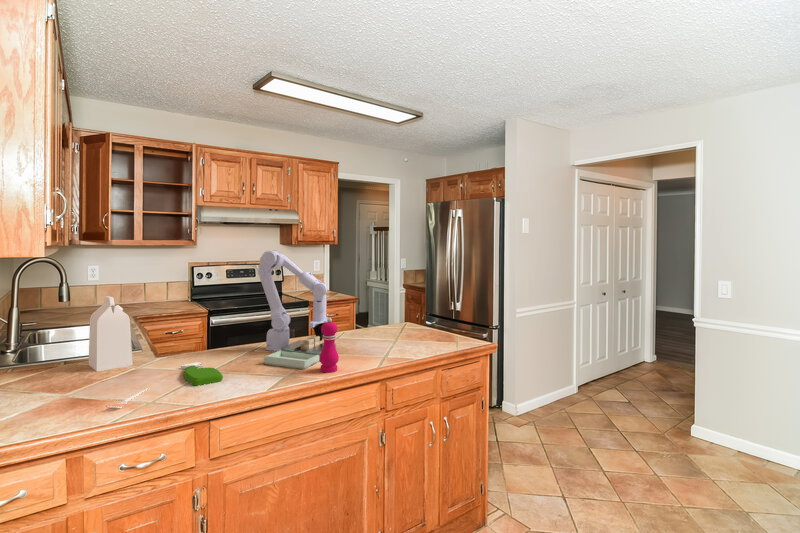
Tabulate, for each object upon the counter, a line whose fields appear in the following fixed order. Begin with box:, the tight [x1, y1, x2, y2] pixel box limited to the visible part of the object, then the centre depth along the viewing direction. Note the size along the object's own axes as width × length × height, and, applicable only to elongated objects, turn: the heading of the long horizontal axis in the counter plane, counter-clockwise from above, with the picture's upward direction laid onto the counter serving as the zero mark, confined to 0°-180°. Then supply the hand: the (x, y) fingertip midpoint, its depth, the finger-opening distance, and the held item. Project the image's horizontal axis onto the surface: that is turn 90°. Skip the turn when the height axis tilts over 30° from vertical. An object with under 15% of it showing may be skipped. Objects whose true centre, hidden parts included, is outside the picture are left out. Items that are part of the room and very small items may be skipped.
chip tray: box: [263, 350, 320, 370], centre depth 174 cm, size 18×11×3 cm, turn 71°
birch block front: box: [300, 337, 314, 350], centre depth 185 cm, size 4×4×4 cm
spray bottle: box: [180, 361, 224, 387], centre depth 157 cm, size 3×11×24 cm
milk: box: [88, 295, 134, 372], centre depth 166 cm, size 12×12×26 cm
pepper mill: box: [319, 317, 340, 374], centre depth 165 cm, size 7×7×20 cm
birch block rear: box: [306, 335, 321, 347], centre depth 189 cm, size 4×4×4 cm
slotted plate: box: [281, 339, 337, 358], centre depth 186 cm, size 18×14×4 cm
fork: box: [106, 387, 149, 409], centre depth 133 cm, size 3×20×2 cm, turn 1°
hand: (319, 340), depth 195 cm, fingers closed
